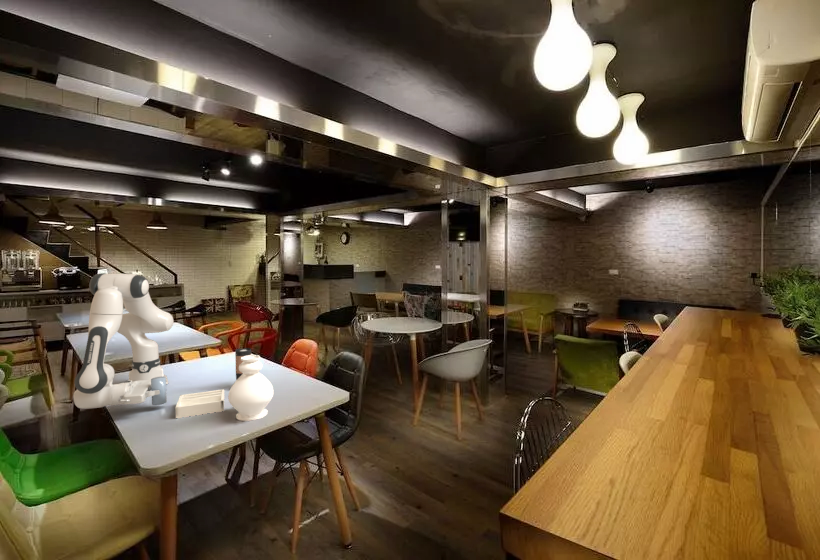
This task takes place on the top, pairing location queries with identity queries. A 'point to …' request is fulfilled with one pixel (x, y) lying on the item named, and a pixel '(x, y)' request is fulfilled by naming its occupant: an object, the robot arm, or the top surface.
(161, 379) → the grey cylinder
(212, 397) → the compartment tray
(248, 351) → the travel mug
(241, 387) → the decorative vase
